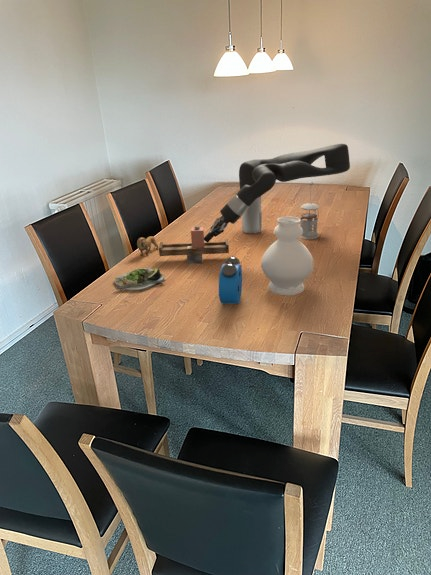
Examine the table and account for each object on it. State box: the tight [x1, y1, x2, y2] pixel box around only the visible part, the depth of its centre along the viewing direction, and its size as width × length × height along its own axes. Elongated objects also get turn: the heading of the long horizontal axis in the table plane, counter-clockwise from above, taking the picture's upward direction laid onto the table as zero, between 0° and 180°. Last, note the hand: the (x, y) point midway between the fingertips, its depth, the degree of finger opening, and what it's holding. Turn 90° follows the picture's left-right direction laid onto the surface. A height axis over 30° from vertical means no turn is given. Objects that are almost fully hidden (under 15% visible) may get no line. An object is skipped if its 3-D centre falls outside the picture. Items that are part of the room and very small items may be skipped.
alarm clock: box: [218, 255, 243, 307], centre depth 143 cm, size 13×6×15 cm, turn 169°
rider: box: [190, 225, 205, 248], centre depth 176 cm, size 5×4×9 cm
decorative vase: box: [260, 215, 314, 296], centre depth 149 cm, size 18×18×25 cm
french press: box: [299, 181, 320, 240], centre depth 198 cm, size 10×12×25 cm
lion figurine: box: [136, 236, 159, 257], centre depth 188 cm, size 15×5×9 cm, turn 164°
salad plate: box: [113, 267, 167, 292], centre depth 162 cm, size 19×18×5 cm
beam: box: [158, 238, 230, 265], centre depth 179 cm, size 28×7×8 cm, turn 91°
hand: (205, 240), depth 176 cm, fingers closed
